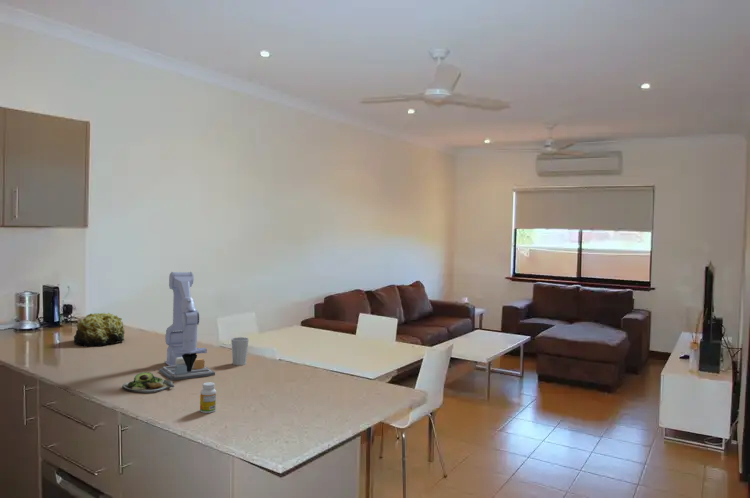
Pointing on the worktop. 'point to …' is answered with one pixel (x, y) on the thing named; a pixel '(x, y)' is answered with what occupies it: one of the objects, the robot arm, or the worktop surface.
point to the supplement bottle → (208, 398)
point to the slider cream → (179, 361)
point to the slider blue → (180, 369)
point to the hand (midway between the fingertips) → (188, 371)
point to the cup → (239, 350)
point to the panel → (170, 374)
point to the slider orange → (198, 363)
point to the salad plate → (147, 384)
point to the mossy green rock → (99, 330)
